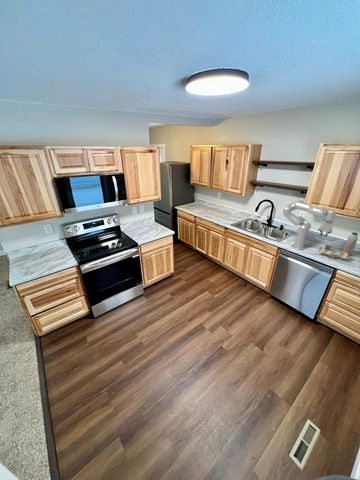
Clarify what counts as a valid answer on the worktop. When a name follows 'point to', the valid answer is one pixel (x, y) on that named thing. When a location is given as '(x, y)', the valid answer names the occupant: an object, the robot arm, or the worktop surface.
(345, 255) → the beam
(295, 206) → the robot arm
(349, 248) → the thermos bottle
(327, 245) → the rider
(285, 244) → the worktop surface
